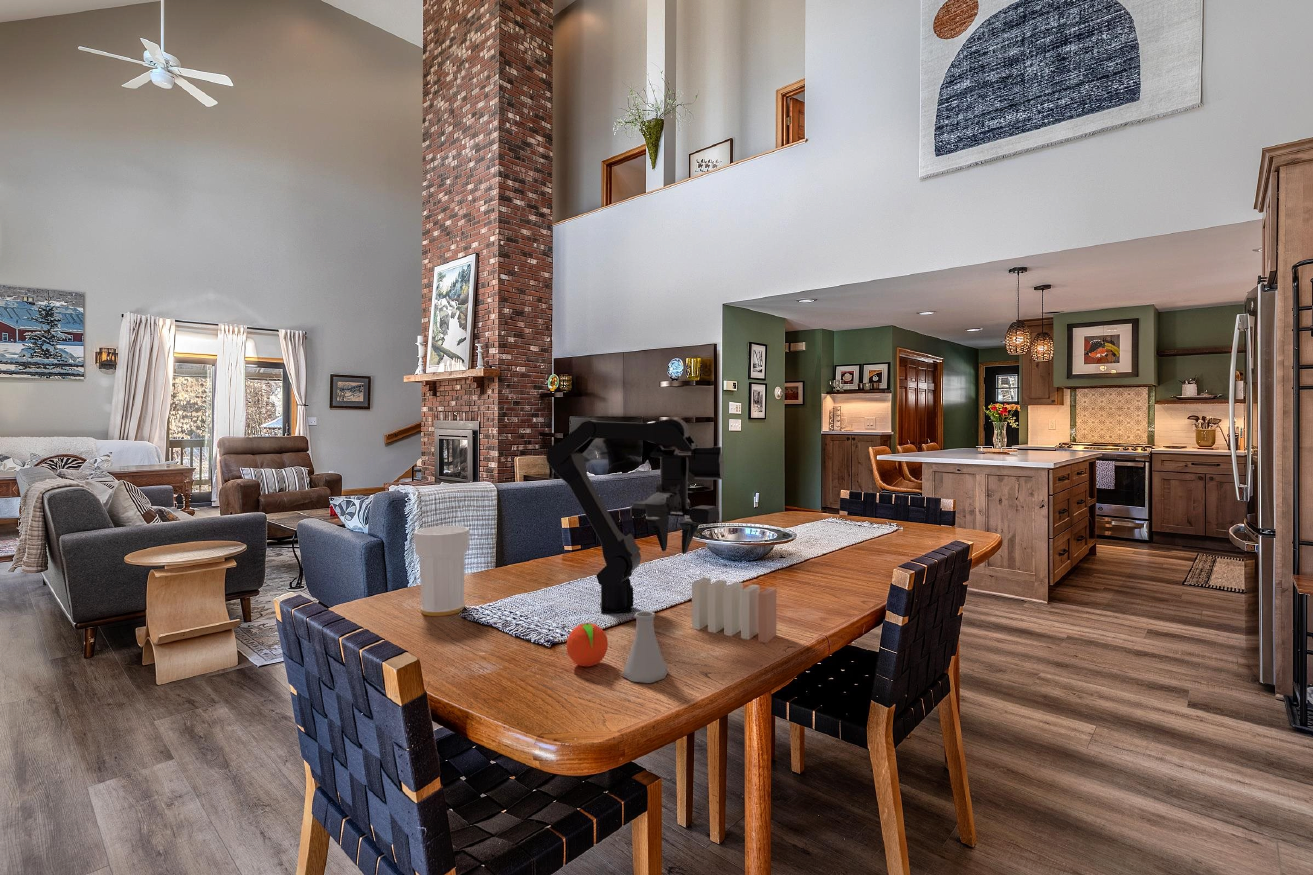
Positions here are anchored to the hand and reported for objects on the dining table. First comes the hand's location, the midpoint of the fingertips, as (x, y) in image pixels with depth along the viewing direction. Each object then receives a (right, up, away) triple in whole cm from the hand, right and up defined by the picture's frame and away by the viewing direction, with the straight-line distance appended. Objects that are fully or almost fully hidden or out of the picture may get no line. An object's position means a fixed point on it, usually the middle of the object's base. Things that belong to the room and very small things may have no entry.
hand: (674, 552), depth 134 cm
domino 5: (+17, -14, -15) cm, 26 cm away
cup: (-50, -13, +3) cm, 52 cm away
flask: (-6, -14, -32) cm, 35 cm away
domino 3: (+11, -13, -11) cm, 21 cm away
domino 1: (+5, -13, -7) cm, 16 cm away
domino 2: (+8, -13, -9) cm, 18 cm away
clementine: (-15, -14, -28) cm, 35 cm away
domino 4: (+14, -13, -13) cm, 23 cm away
